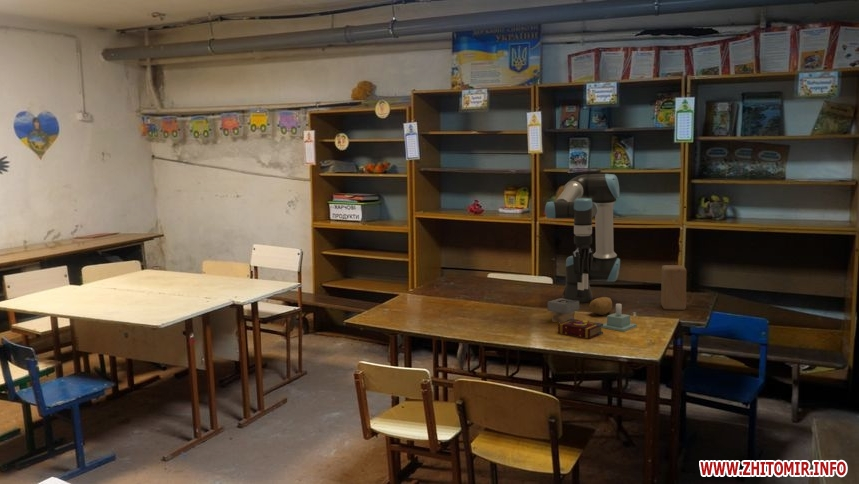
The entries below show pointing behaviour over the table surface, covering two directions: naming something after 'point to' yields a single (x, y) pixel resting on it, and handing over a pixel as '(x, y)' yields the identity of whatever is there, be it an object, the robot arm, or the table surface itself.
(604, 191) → the robot arm
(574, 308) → the grey square frame
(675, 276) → the wooden block
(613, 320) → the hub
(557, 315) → the stand
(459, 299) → the table surface
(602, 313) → the potato
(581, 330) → the decorative book
